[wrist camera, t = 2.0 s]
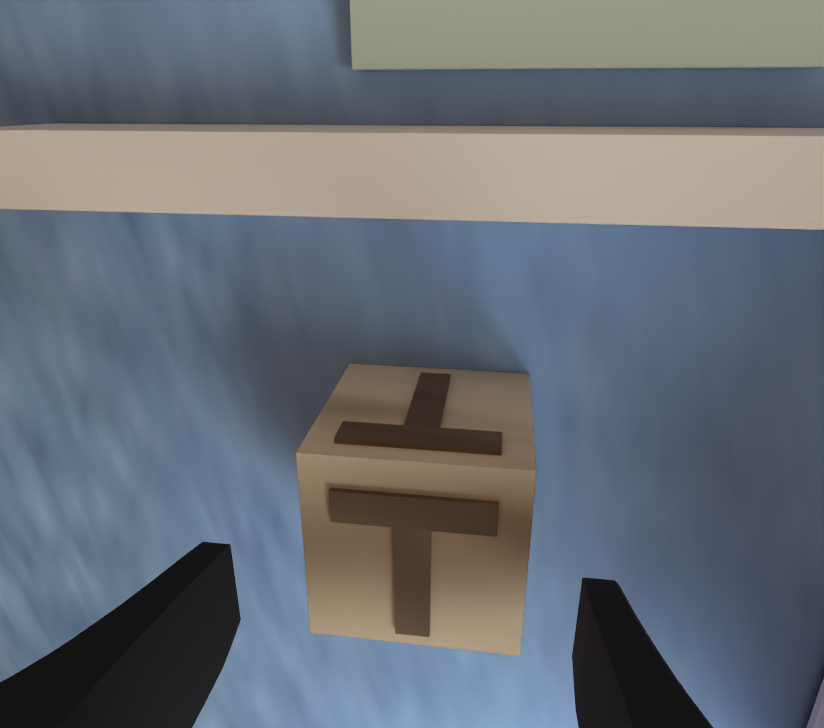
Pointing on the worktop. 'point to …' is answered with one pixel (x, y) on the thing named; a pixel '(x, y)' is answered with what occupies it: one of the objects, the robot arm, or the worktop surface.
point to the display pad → (585, 34)
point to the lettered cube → (420, 507)
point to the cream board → (424, 172)
